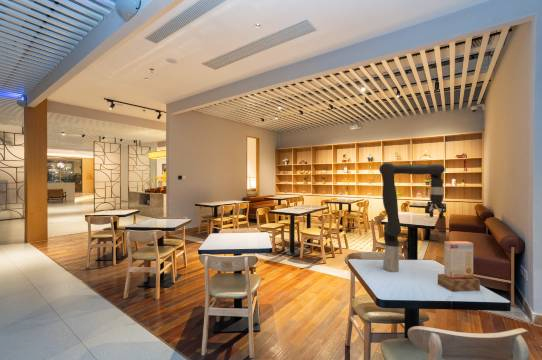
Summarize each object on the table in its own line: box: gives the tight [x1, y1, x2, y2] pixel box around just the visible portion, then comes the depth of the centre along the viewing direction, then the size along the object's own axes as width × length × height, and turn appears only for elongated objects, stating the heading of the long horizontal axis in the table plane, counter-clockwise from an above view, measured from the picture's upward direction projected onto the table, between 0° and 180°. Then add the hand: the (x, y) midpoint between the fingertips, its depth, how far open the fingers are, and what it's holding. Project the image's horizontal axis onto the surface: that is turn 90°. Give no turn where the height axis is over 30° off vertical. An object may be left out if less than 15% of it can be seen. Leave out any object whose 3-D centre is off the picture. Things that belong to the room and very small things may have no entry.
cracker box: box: [443, 240, 474, 278], centre depth 162 cm, size 14×6×21 cm, turn 92°
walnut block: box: [437, 273, 481, 292], centre depth 162 cm, size 18×11×6 cm, turn 98°
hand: (436, 217), depth 183 cm, fingers open, 8 cm apart
